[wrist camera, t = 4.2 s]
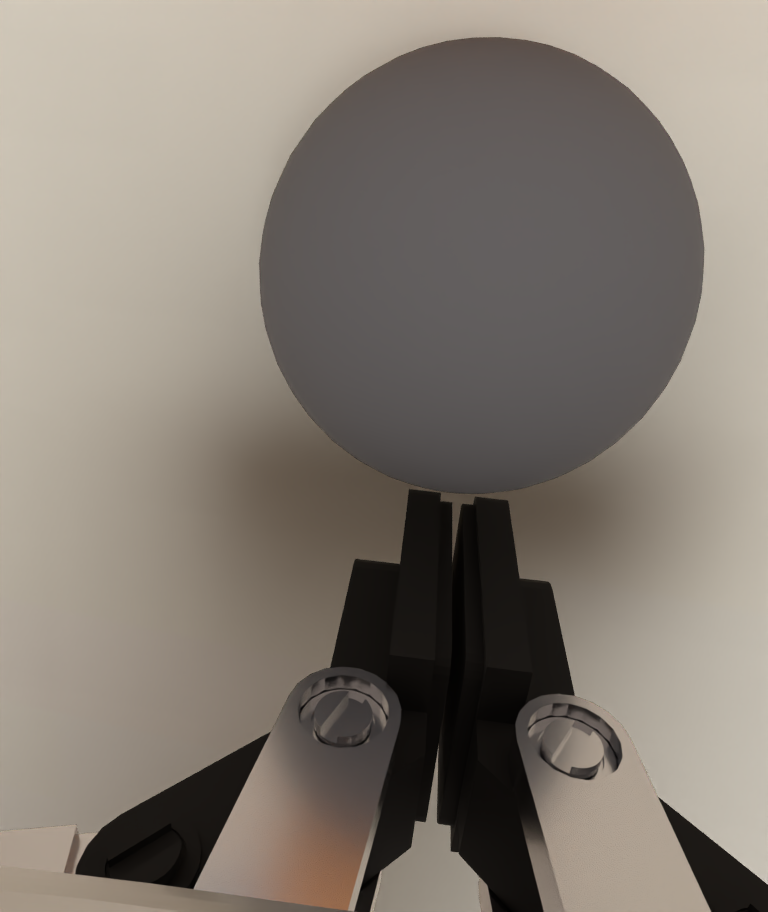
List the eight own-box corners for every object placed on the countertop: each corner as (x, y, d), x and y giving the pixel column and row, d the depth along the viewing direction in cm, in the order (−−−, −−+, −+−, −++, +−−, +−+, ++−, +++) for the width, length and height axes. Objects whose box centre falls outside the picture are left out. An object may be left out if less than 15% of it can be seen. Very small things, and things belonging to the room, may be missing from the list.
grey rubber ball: (642, 349, 4) (640, -209, 6) (116, 428, 7) (210, 42, 9) (742, 533, 9) (726, 180, 10) (385, 536, 12) (416, 262, 13)
